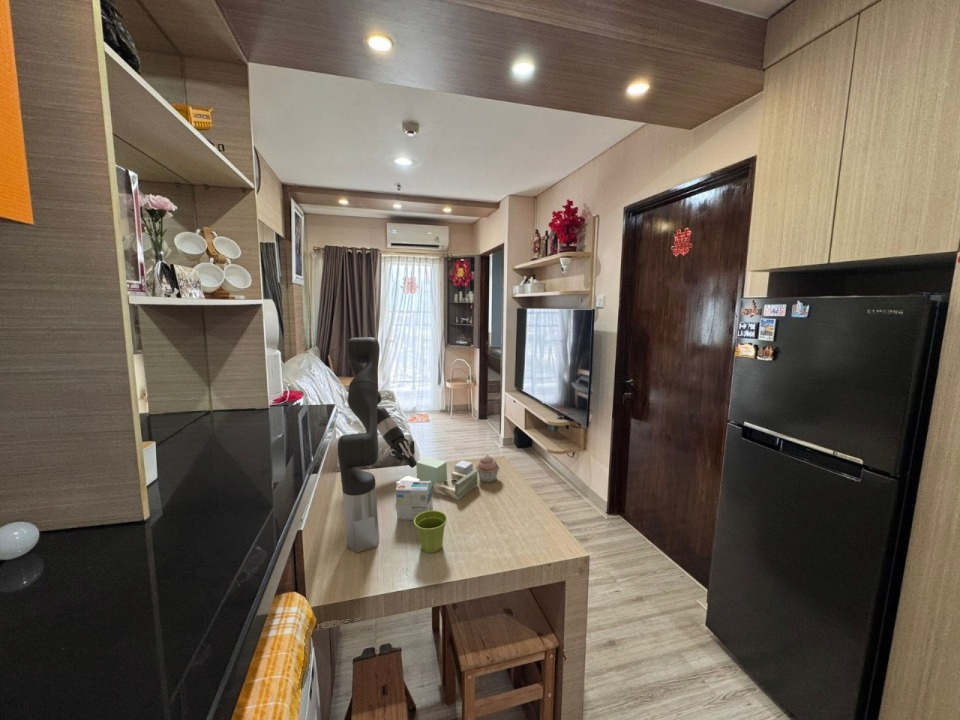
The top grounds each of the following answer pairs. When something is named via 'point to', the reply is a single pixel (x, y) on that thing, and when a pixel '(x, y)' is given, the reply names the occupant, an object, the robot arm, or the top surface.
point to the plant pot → (430, 530)
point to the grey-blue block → (464, 467)
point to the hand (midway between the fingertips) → (414, 466)
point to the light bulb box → (413, 498)
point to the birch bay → (458, 485)
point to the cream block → (407, 480)
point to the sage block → (431, 470)
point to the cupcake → (487, 469)
